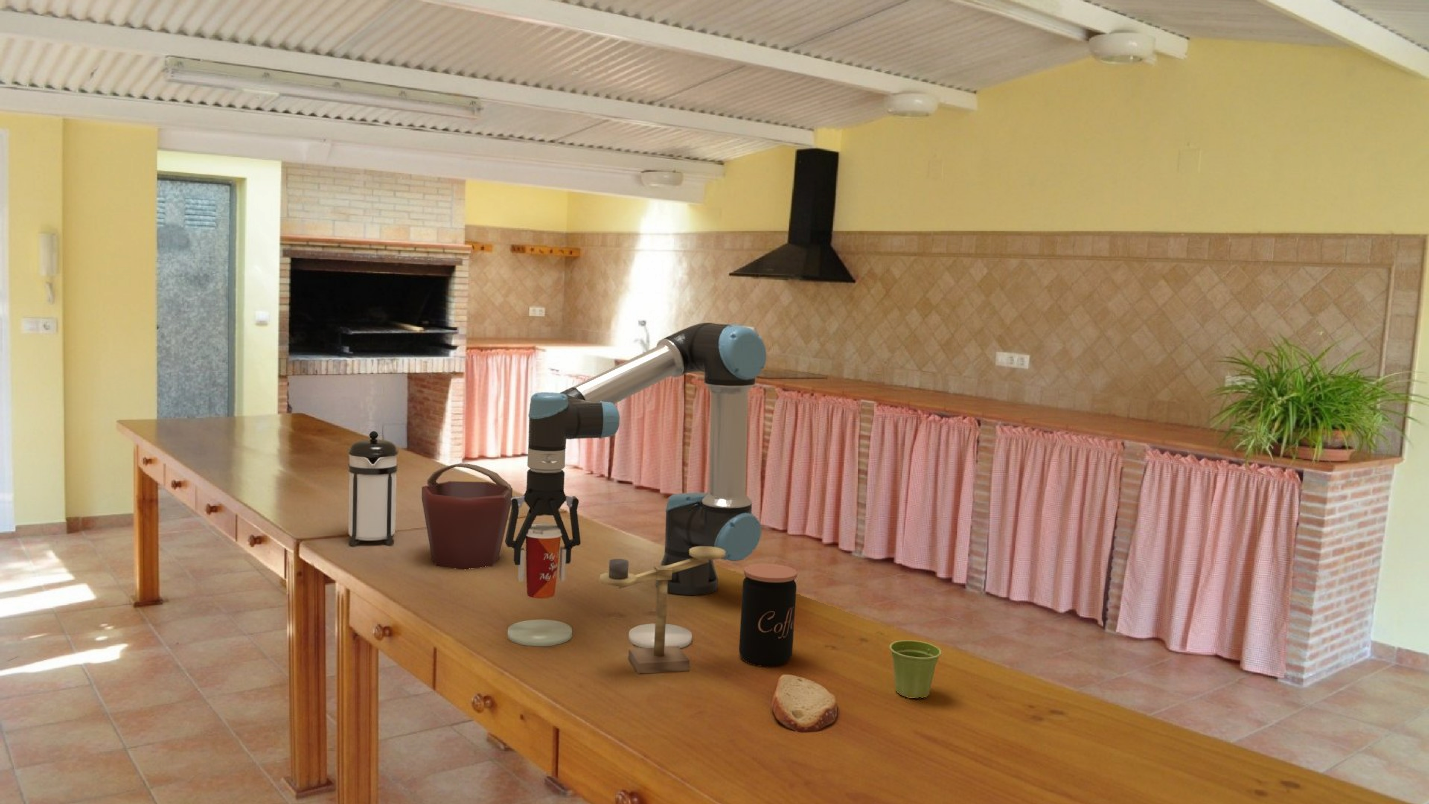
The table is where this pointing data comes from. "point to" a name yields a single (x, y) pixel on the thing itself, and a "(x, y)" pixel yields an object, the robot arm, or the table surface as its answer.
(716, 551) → the balance
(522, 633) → the sage dish
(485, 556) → the bucket
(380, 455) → the coffee press
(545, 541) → the paper cup
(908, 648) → the plant pot
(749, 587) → the coffee jar
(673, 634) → the white dish
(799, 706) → the bread slice
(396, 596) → the table surface
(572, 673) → the table surface
